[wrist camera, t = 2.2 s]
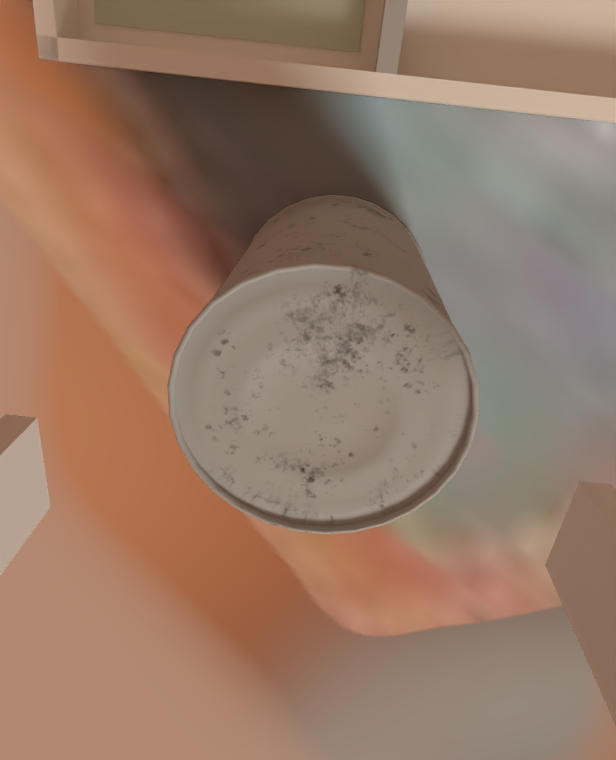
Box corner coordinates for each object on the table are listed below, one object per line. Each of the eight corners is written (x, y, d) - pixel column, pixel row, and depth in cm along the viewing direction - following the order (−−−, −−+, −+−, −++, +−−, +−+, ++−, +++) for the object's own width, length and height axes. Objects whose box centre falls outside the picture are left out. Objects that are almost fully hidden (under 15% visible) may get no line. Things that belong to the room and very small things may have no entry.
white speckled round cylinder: (465, 304, 27) (542, 437, 16) (321, 407, 31) (305, 574, 20) (346, 149, 24) (341, 184, 14) (201, 280, 28) (103, 394, 17)
